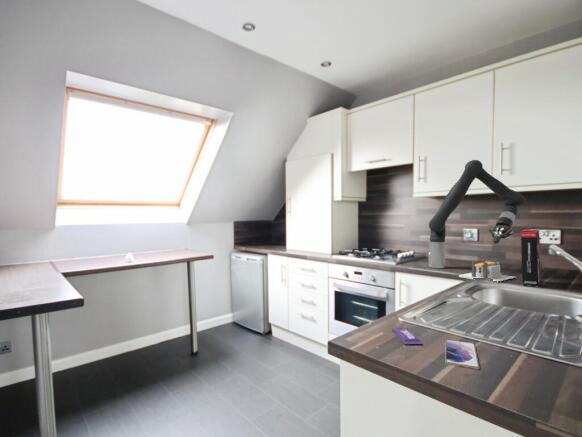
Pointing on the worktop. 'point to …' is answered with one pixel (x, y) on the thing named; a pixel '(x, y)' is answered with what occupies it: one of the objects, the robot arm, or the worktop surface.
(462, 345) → the smartphone
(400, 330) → the snack package
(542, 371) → the worktop surface
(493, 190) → the robot arm
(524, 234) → the graphics card box
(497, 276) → the heatsink board
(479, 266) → the retention strap
